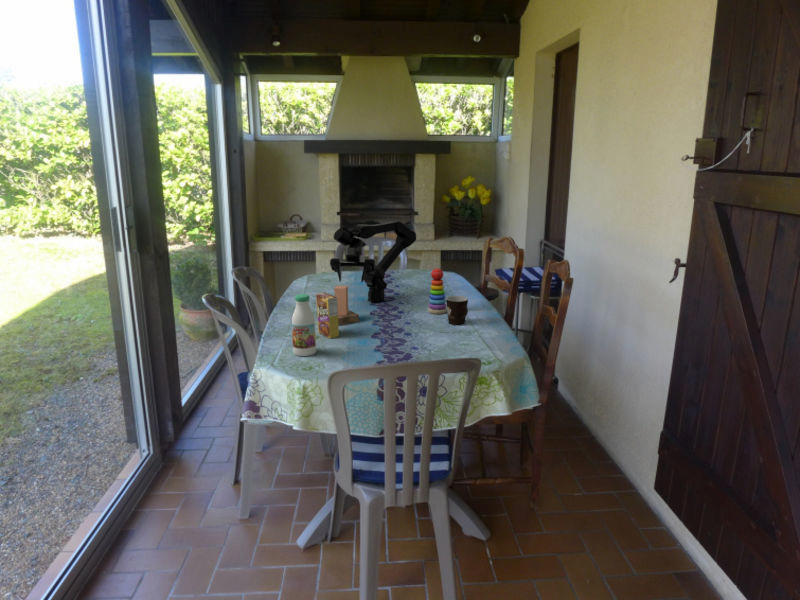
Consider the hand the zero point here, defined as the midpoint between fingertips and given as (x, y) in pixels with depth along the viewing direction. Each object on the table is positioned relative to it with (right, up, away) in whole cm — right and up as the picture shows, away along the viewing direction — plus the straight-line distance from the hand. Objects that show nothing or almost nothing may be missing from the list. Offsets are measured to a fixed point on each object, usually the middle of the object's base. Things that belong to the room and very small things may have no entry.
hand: (350, 281), depth 230 cm
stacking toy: (+36, -13, +5) cm, 39 cm away
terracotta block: (-3, -13, -8) cm, 16 cm away
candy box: (-6, -21, -24) cm, 33 cm away
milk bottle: (-12, -26, -43) cm, 51 cm away
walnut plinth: (-3, -16, -7) cm, 18 cm away
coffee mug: (+43, -17, -12) cm, 48 cm away
